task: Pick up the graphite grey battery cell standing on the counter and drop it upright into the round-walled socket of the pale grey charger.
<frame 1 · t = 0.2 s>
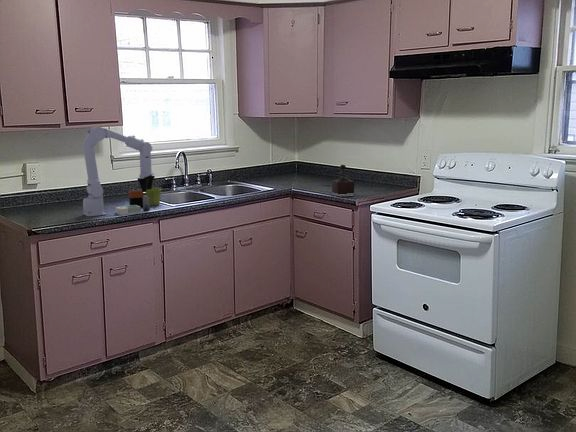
hand: (146, 190, 308), 10 cm above the worktop, tool pointing down, fingers open, 7 cm apart
cell: (146, 210, 308), on the worktop
brown bottle: (341, 195, 357), on the worktop
charger: (128, 212, 301), on the worktop
plant pot: (153, 204, 325), on the worktop
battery: (136, 207, 316), on the worktop
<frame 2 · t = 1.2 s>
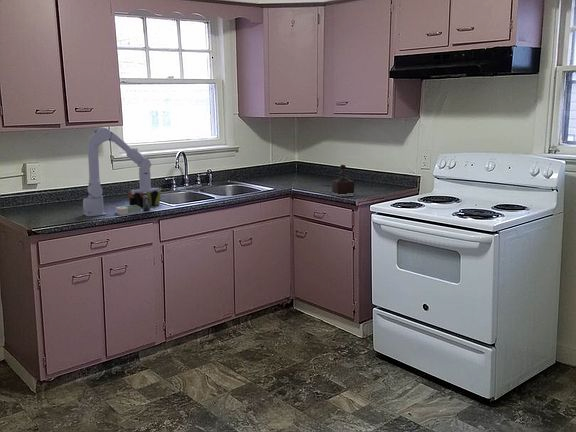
hand: (146, 206, 307), 2 cm above the worktop, tool pointing down, fingers open, 7 cm apart
nothing on the worktop moved.
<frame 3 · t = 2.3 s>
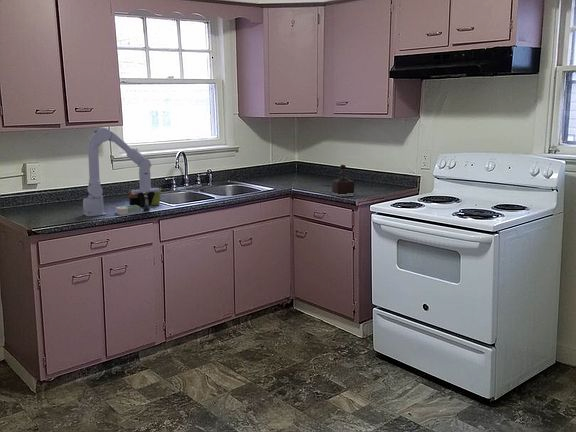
hand: (146, 206, 307), 2 cm above the worktop, tool pointing down, fingers closed on cell, 3 cm apart
cell: (146, 210, 308), on the worktop, touching gripper
everything else where it was.
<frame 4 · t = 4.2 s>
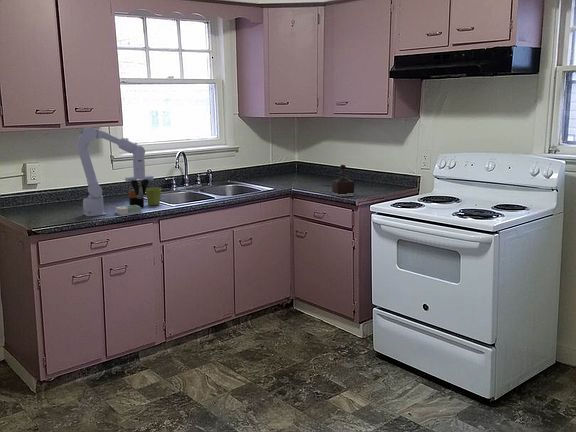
hand: (140, 194, 304), 9 cm above the worktop, tool pointing down, fingers closed on cell, 3 cm apart
cell: (140, 198, 304), point 7 cm above the worktop, touching gripper
everything else where it was.
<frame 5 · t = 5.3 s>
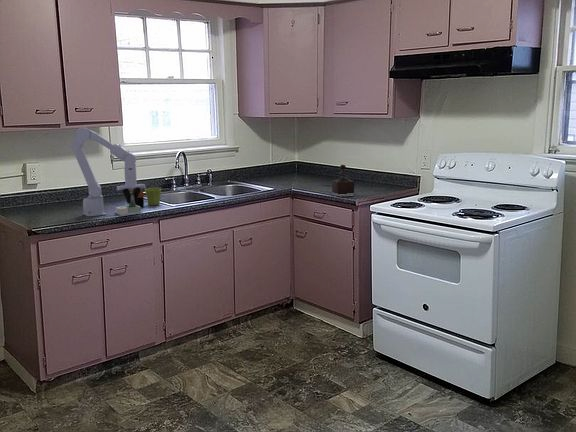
hand: (132, 202, 301), 5 cm above the worktop, tool pointing down, fingers closed on cell, 3 cm apart
cell: (132, 206, 302), point 3 cm above the worktop, touching gripper
everything else where it was.
when the fingers open (4 cm above the worktop, at t = 6.3 s): cell drops 1 cm, resting on charger.
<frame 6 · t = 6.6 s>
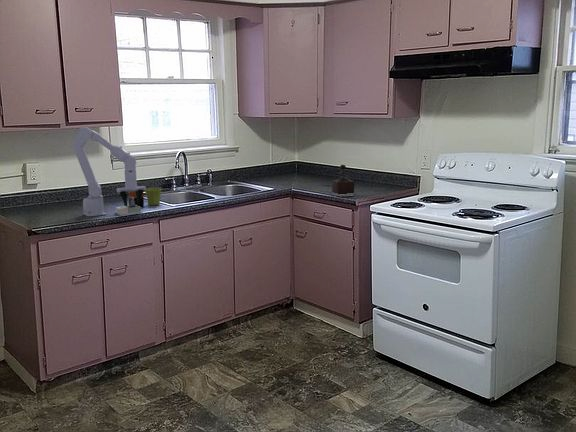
hand: (132, 205, 302), 4 cm above the worktop, tool pointing down, fingers open, 6 cm apart
cell: (132, 211, 302), point 1 cm above the worktop, touching charger
everything else where it was.
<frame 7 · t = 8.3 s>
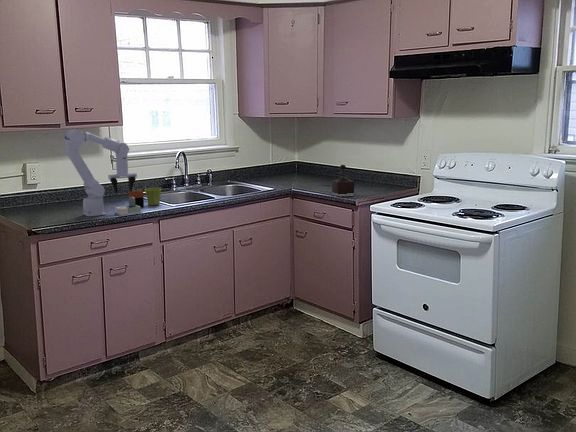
hand: (123, 191, 305), 10 cm above the worktop, tool pointing down, fingers open, 7 cm apart
nothing on the worktop moved.
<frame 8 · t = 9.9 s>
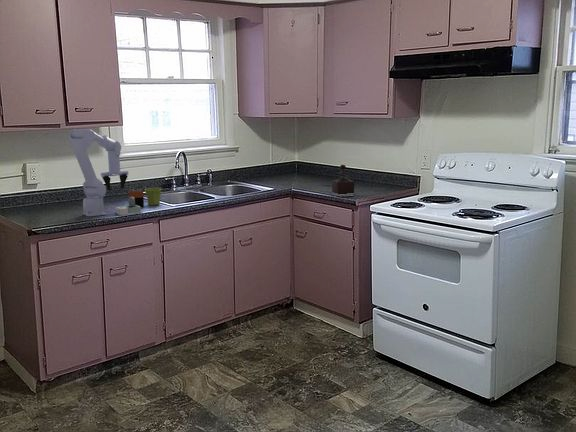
hand: (115, 189, 310), 10 cm above the worktop, tool pointing down, fingers open, 7 cm apart
nothing on the worktop moved.
at the end: cell 0.0 cm from the target spot on the charger, point 0.6 cm above the charger's base; cell tilted 1°; the gripper is holding nothing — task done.
